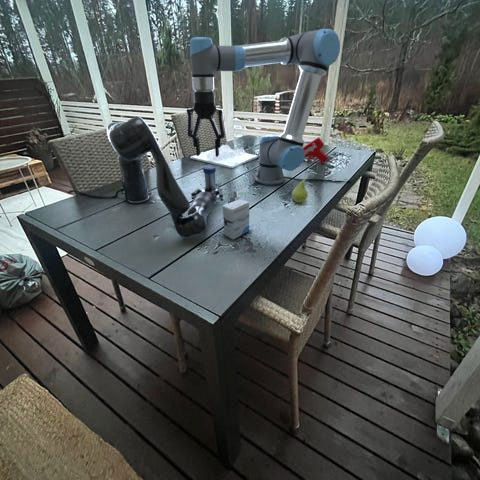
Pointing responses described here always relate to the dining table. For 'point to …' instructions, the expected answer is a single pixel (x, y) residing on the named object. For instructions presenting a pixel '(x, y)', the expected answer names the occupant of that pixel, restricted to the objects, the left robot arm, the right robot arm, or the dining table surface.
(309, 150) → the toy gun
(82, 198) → the dining table surface
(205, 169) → the lid
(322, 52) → the right robot arm
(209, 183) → the grey capped tube
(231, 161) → the relief map
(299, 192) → the fruit
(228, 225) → the ink box
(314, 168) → the dining table surface
